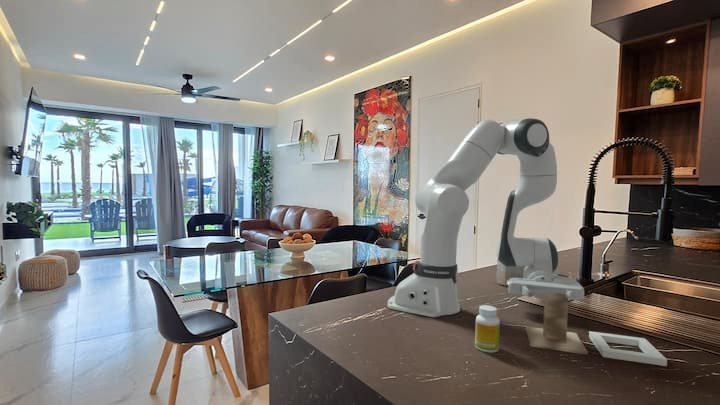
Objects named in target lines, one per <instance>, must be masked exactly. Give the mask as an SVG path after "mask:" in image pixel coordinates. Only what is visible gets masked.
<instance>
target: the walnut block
mask: <svg viewBox="0 0 720 405" xmlns="http://www.w3.org/2000/svg"><path fill="white" fill-rule="evenodd" d="M543 300H544V302H543V303H544V305H543V306H544V307H543V323H542V324H543V325H542V329H543V335H544V337H545V340H547V341H554V342H562V343H566V336H567V332H568V314H569V313H568V309H569V301H568V298H567V296H566V295H565V294H564V293H554V292H545V299H543Z"/></svg>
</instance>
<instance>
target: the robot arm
mask: <svg viewBox="0 0 720 405" xmlns="http://www.w3.org/2000/svg"><path fill="white" fill-rule="evenodd" d="M497 154H499V155H512V156H517V158H518V160H519V163H520V167H519V181H518V184H517V186H516V187H515V189H514V190H512V191H510V193H509V196H508V197H507V202H506V207H505V210H504V215H503V222H502V226H501V232H500V233H501V235H500V238H499V241H498V243H497V247H496V257H497V259H498V260H499V261H500V262H501V263H502V264H503V265H505V266H506V267H514V266H526V267H525V269H524V273H523V277H524V278H510V280H509V281H507V282H506V283H507V285H509V286H508V287H507V290H508V293H509V294H512V295H522V296H526V297H529V298H533V297H534V298H536V299H539V300H545V292H554V293H564V294H565V295H566V296H567V298H568V302H570V301H577V302H582V301H584V300H585V288H584V287H583V286H582V285H581V284H580V283H579V282H577V281H575V280H574V278H573V277H572V276H569V275H564V274H558V273H555V271H556V270H557V268H558V265H559V254H558V249H557V246H556V245H555V244H554V243H553V241H552V240H551V239H550V238H547V237H515V236H514V235H515V231H516V230H515V229H516V224H517V219H518V216H519V214H520V213H521V211H523V210H524V209H526V208H529V207H531V206H534V205H536V204H539V203H543V202H544V201H546V200H548V199H549V198H550V197H551V196H552V195H553V194H554V193H555V191H556V188H557V184H558V167H557V158H556V157H557V156H556V152H555V147H554V146H553V144H552V143H550V133H549V128H548V127H547V125H546V124H545V122H544V121H542V120H540V119H538V118H531V117H530V118H529V117H528V118H524V119H513V120H508V121H505V122H501V123H498V122H497V121H495V120H494V119H493V120H492V119H483V120H481V121H478V123H477V124H476V125H475V126H474V127H473V128H471V129H470V131H469V132H468V133H467V134H466V135H465V136H464V138H463V139H462V140H461V142H460V143H459V144H458V145H457V147H456V148H455V150H454V151H453V153H451V155H450V157H449V158H448V159H447V160H446V162H445V163H444V164H443V165H442V166H441V167H440V168H439V169H438V170H437V171H436V172H435V173H434V174H433V176H432V177H430V178H429V180H428V181H427V182H426V183H425V184H424V185H423V186H422V187H421V188H420V189H419V190H418V191H417V192H416V195H415V199H414V203H415V206H416V208H417V210H418V211H419V212H420V213H421V214H423V215H424V216H425V217H426V221H425V224H424V225H425V226H424V229H423V233H422V234H421V237H420V248H419V249H420V251H419V252H420V254H419V255H420V256H419V260H418V259H417V260H416V261H414V263H413V267H412V269H413V270H412V271H413V273H412V274H410V275H409V276H407V277H406V278H405V279H403V280H402V281H400V282H399V283H398V284H397V287H396V289H395V291H394V292H395V293H394V295H393V296H392V295H391V297H389V299H388V300H387V308H389V309H391V310H395V311H400V312H405V313H410V314H415V315H421V316H425V317H430V318H438V317H441V316H450V315H454V314H457V313H459V312H460V311H461V307H460V304H459V299H458V292H457V291H458V290H457V282H458V273H459V272H458V270H459V268H458V264H457V250H458V249H457V247H458V236H459V232H460V228H461V225H462V222H463V217H464V216H465V215H466V213H467V212H468V209H469V206H470V202H469V201H470V200H469V196H468V194H467V193H466V191H467V190H468V189H469V187H471V186H473V185H474V184H475V183H477V181H478V180H479V179H480V178H481V177H482V174H483V173H484V172H485V171H486V169H487V168H488V167H489V166H490V164H491V163H492V161H493V159H494V157H496V155H497Z"/></svg>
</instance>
